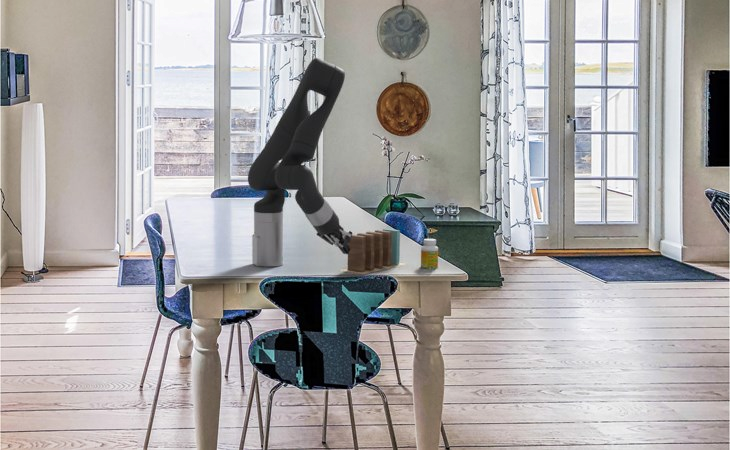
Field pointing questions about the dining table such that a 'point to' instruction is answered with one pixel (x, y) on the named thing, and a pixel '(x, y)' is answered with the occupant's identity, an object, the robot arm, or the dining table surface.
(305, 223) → the dining table surface
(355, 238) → the domino
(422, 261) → the supplement bottle
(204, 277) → the dining table surface
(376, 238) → the domino
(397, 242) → the domino
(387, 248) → the domino
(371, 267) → the domino
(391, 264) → the domino board
